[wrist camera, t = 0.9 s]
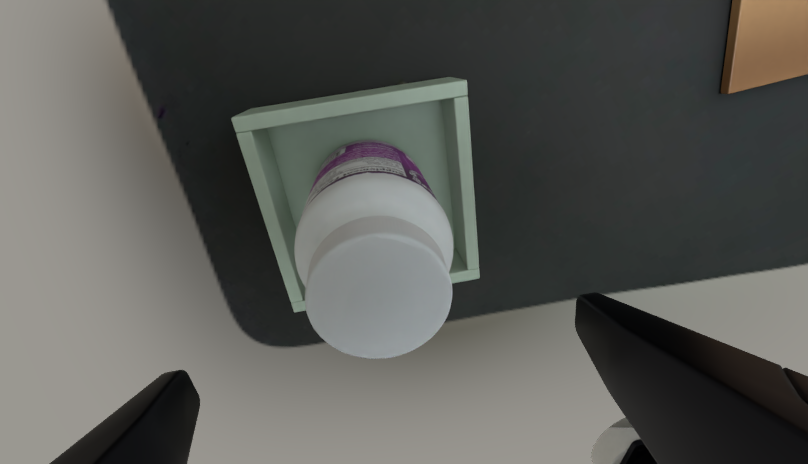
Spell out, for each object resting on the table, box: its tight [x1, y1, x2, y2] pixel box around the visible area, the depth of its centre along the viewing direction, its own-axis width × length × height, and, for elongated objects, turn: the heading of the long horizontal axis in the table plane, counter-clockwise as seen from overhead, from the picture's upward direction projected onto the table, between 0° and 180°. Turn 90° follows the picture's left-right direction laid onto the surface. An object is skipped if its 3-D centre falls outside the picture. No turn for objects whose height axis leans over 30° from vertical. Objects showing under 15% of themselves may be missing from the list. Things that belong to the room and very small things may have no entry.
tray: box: [231, 77, 480, 312], centre depth 18 cm, size 9×9×3 cm
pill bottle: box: [294, 139, 453, 359], centre depth 14 cm, size 5×5×10 cm
